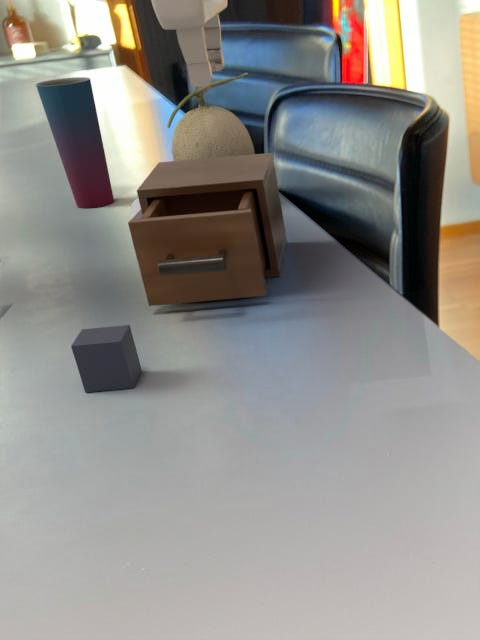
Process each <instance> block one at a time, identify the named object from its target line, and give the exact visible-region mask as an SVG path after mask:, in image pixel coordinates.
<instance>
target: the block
mask: <svg viewBox="0 0 480 640" xmlns="http://www.w3.org/2000/svg"><path fill="white" fill-rule="evenodd" d="M70 347H71V350H72V354H73V357H74V360H75V361H74V362H75V364H76V367H77V371H78V374H79V376H80V377H79V378H80V379H81V383H82V386H83V390H84V393H85V394H86V393H95V392H98V393H99V392H109V391H118V390H119V391H120V390H129V389H134V388H135V386H136V384H137V382H138V380H139V377H140V375H141V373H142V371H143V370H142V365H141V362H140V359H139V355H138V349H137V347H136V343H135V339H134V335H133V332H132V329H131V325H130V324H124V325H113V326H102V327H93V328H91V327H90V328H82V329H81V330H80V331H79V333H78V334H77V336H76V338H75V339H74V341H73V342H72V344H71V345H70Z"/></svg>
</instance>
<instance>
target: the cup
mask: <svg viewBox="0 0 480 640" xmlns="http://www.w3.org/2000/svg"><path fill="white" fill-rule="evenodd" d="M35 87H36V90H37V92H38V95H39V98H40V101H41V105H42V107H43V111H44V113H45V116H46V120H47V121H48V122H47V123H48V125H49V127H50V131H51V133H52V137H53V139H54V142H55V146H56V149H57V151H58V155H59V157H60V161H61V163H62V166H63V169H64V172H65V175H66V178H67V181H68V184H69V186H70V189H71V193H72V195H73V199H74V202H75V205H76V207H78V208H81V209H93V208H100V207H105V206H109V205H111V204H113V203H114V202H115V198H114V194H113V188H112V183H111V178H110V174H109V173H110V172H109V168H108V163H107V157H106V153H105V147H104V143H103V137H102V131H101V127H100V122H99V117H98V112H97V108H96V103H95V102H96V101H95V97H94V92H93V87H92V81H91V78H90V77H85V76H83V77H81V76H77V77H76V76H75V77H64V78H55V79H49V80H43V81H39V82H37V83H36V84H35Z"/></svg>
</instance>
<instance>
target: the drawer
mask: <svg viewBox="0 0 480 640" xmlns="http://www.w3.org/2000/svg"><path fill="white" fill-rule="evenodd" d="M127 224H128V228H129V232H130V236H131V240H132V245H133V248H134V252H135V256H136V260H137V264H138V269H139V272H140V276H141V280H142V284H143V288H144V292H145V296H146V300H147V303H148V306H149V307H154V306H165V305H166V306H167V305H176V304H177V305H178V304H187V303H188V304H189V303H199V302H211V301H218V300H219V301H220V300H231V299H242V298H243V299H245V298H254V297H264V296H267V291H268V290H267V287H266V286H267V285H266V280H265V278H264V274H263V272H264V268H265V265H266V261H267V251H266V245H265V240H264V234H263V229H262V223H261V217H260V212H259V206H258V201H257V195H256V190H255V189H246V190H234V191H222V192H211V193H199V194H187V195H176V196H164V197H155V199H154V200H153V201H152V203H151V204H150V206H149V207H148V209H147V210H146V211H145V213H144V214H143V216H142V217H141V219H131V220H130V219H129V221H128V222H127Z"/></svg>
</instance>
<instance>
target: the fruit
mask: <svg viewBox="0 0 480 640" xmlns="http://www.w3.org/2000/svg"><path fill="white" fill-rule="evenodd" d="M248 76H249V73H248V72H245V73H243V74H240V75H238V76H233V77H228V78H224V79H220V80H217V81H212V83H211V84H210V85H209V86H204V87H197V88H196V89H195V90H193V91H192V92H190V93H189V94H187V96H185V97H184V98H183V99H182V100H181V101H180V102H179V103H178V104H177V105H176V106H175V108H174V110H173V111H172V113H171V114H170V117H169V120H168V123H167V125H166V126H167V128H168V129H171V125H172V123H173V120H174V119H175V116H176V115H177V114H178V112H179V111H180V109H181V108H182V107H183V106H184V105H185V104H186V103H187V102H188V101H190V100H191V99H192V98H194V97H195V98H196V99H197V102H198V107H196V108H195V109H191V110H189V111H187V112H185V114H184V115H182V117H181V118H180V119H179V120H178V121H177V124H176V126H175V127H174V130H173V135H172V141H171V154H172V159H173V161H182V160H194V159H205V158H217V157H229V156H241V155H253V154H256V153H255V147H254V143H253V141H252V138H251V136H250V133H249V130H248V129H247V127H246V126H245V124H244V123H243V121H241V119H240V118H238V116H236V114H234V112H232V111H230V110H228V109H226V108H223V107H221V106H216V105H207V104H206V103H205V99H204V94H206V93H207V92H208V91H210V90H211V89H213V88H216V87H219V86H222V85H225V84H227V83H231V82H233V81H236V80H239V79H242V78H245V77H248Z"/></svg>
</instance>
